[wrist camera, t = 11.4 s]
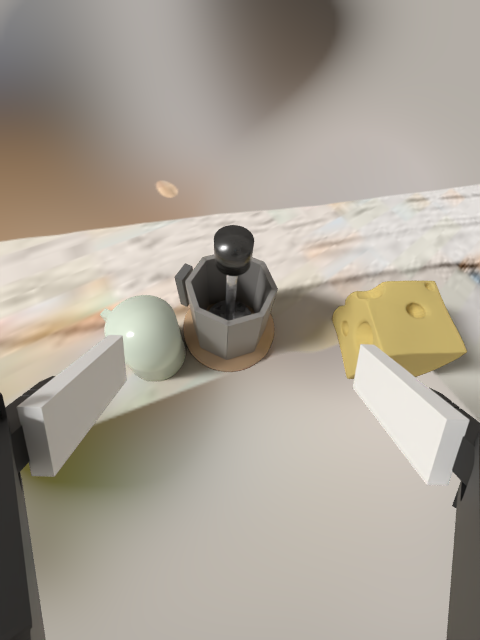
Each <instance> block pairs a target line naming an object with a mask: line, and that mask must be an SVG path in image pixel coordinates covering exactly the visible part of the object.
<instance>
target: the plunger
mask: <svg viewBox="0 0 480 640" xmlns="http://www.w3.org/2000/svg"><path fill="white" fill-rule="evenodd" d="M253 246H254V237H253V235H252V234H251V232H250V231H249V230H247V229H246V228H244V227H241V226H236V225H230V226H225V227H223V228H221V229H219V230H218V231H217V232H216V234H215V236H214V256H215V266H216V268H217V269H218V270H219V271H220V272H221V273H223V274H225V275H226V300H224V301H220V302H218V303H216V304H215V305H213V306H212V307H211V308H210V310H209V311H208V312H210V313H212V314H215V315H217V316H219V317H221V318H223V319H226V320H228V321H230V320H233V319H237V318H240V317H244V316H248V315H251V312H250V310H249V309H248V308H247V307H246V306H245V305H244V304H242V303H240V302H238V301H236V291H237V279H238V276H239V275H242V274H244V273H246V272H247V271H248V270H249V268H250V266H251V260H252V253H253Z"/></svg>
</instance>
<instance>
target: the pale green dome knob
mask: <svg viewBox="0 0 480 640" xmlns="http://www.w3.org/2000/svg"><path fill="white" fill-rule="evenodd" d="M100 315H101V317H102V318H103V319H104V320H105V322H106V323H105V337H107V336H108V335H123V344H124V356H125V363H126V364H127V366H128V367H129V368H130V369H131V370H132V371H133V372H134V373H135V374H136V375H137V376H138V377H139V378H141V379H143V380H146V381H152V382H156V381H162V380H165V379H168V378H170V377H171V376H173V375H174V374H175V373H176V372H177V371H178V370H179V369H180V368H181V366H182V364H183V362H184V360H185V346H184V343H183V339H182V336H181V332H180V329H179V326H178V322H177V319H176V316H175V313H174V311H173V309H172V307H171V306H170V305H169V304H168V303H167V302H166V301H164V300H162V299H161V298H158V297H155V296H150V295H141V296H135V297H132V298H129V299H127V300H125V301H123V302H121V303H120V304H118V305H117V306H116V307H115V308H114V309H113V310H112V311H110V310H108V309H106V308H105V309H104V311H103V312H102V313H101V314H100Z"/></svg>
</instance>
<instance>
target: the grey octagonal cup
mask: <svg viewBox="0 0 480 640" xmlns="http://www.w3.org/2000/svg"><path fill="white" fill-rule="evenodd" d="M175 281H176V285H177V289H178V294H179V298H180V302H181V304H182V305H184V306H187V307H188V305H189V304H190V308H189V310H188V312H187V314H186V316H185V320H184V326H183V330H184V337H185V341H186V344H187V347H188V349H189V350H190V352H191V353H192V355H193V356H194V357H195V358H196V359H197V360H198V361H199V362H200V363H202V364H203V365H205V366H207V367H209V368H211V369H214V370H218V371H223V372H235V371H241V370H244V369H247V368H250V367H251V366H253V365H255V364H256V363H258V362H259V361H260V360H261V359H262V358H263V357H264V356H265V355H266V353H267V352H268V350H269V348H270V346H271V343H272V341H273V337H274V322H273V318H272V315H271V313H270V312H271V309H272V306H273V302H274V299H275V296H276V293H277V289H278V288H277V286H276V284H275V282H274V280H273V278H272V276H271V274H270V272H269V270H268V268H267V266H266V264H265V263H264V262H263V261H260V260H258V259H256V258H253V257H252V260H251V266H250V268H249V270H248V271H247V272H246V273H244V274H242V275H239V276H238V279H237V291H236V301H238V302H240V303H242V304H244V305H245V306H246V307H247V308H248V309H249V310H250V312H251V315H248V316H244V317H240V318H237V319H233V320H230V321H228V320H226V319H223V318H221V317H219V316H217V315H215V314H212V313H210V312H208V311H209V310H210V308H211V307H212V306H213V305H215V304H216V303H218V302H220V301H224V300H226V275H225V274H223V273H221V272H220V271H219V270H218V269H217V268H216V266H215V256H214V255H210V256H205V257H202V259H201V260H200V261H199V263H198V264H197V266H196V267H195V268H194V270H193V268H192V266H190V265H188V264H184V266H183V267H182V268H181V269H180V271H179V272H178V273H177V275H176V276H175Z"/></svg>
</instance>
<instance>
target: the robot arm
mask: <svg viewBox="0 0 480 640" xmlns="http://www.w3.org/2000/svg"><path fill="white" fill-rule="evenodd" d="M126 381H127V380H126V368H125V356H124V344H123V335H108V336H107V337H105V338H104V339H103V340H101V341H100V342H99V343H98V344H96V345H95V346H94V347H92V348H91V349H90V350H89V351H87V352H86V353H85V354H84V355H82V356H81V357H80V358H78V359H77V360H76V361H75V362H73V363H72V364H71V365H69V366H68V367H67V368H66V369H64V370H63V371H62V372H60V373H59V374H58V375H57V376H52V377H49V378H47V379H45V380H43V381H41V382H39V383H38V384H36V385H35V386H34V387H32V388H31V389H30V390H28V391H27V392H25V393H24V394H23V395H22V396H20V397H19V398H17V399H16V400H15V401H13V402H12V403H11V404H9V405H8V406H7V407H5V405H4V401H3V396H2V394H1V393H0V640H45V633H44V626H43V619H42V613H41V606H40V599H39V592H38V586H37V579H36V572H35V565H34V559H33V552H32V546H31V539H30V532H29V526H28V518H27V512H26V505H25V498H24V491H23V485H22V479H21V474H20V471H21V470H22V469H23V468H24V467H25V466H26V464H27V463H28V462H29V465H30V470H31V475H32V476H55V475H56V473H57V472H58V471H59V470H60V468H61V467H62V466H63V464H64V463H65V462H66V460H67V459H68V458H69V456H70V455H71V454H72V452H73V451H74V450H75V448H76V447H77V446H78V444H79V443H80V442H81V440H82V439H83V438H84V436H85V435H86V434H87V432H88V431H89V429H90V428H91V427H92V426H93V424H94V423H95V422H96V420H97V419H98V418H99V416H100V415H101V414H102V412H103V411H104V410H105V409H106V407H107V406H108V405H109V403H110V402H111V401H112V399H113V398H114V397H115V395H116V394H117V393H118V391H119V390H120V389H121V387H122V386H123V385H124V383H125V382H126ZM353 389H354V390H355V391H356V393H357V394H358V396H359V397H360V398H361V400H362V401H363V402H364V403H365V405H366V406H367V407H368V409H369V410H370V411H371V413H372V414H373V415H374V417H375V418H376V419H377V420H378V422H379V423H380V424H381V426H382V427H383V428H384V430H385V431H386V432H387V433H388V435H389V436H390V437H391V439H392V440H393V441H394V443H395V444H396V445H397V447H398V448H399V449H400V451H401V452H402V453H403V454H404V456H405V457H406V458H407V460H408V461H409V462H410V464H411V465H412V466H413V467H414V469H415V470H416V471H417V473H418V474H419V475H420V477H421V478H422V479H423V481H424V482H425V483H426V484H427V485H446V486H447V485H448V484H449V481H450V478H451V475H452V472H454V473H455V474H456V475H457V477H458V478H459V479H460V480H461V482H460V485H459V488H458V491H457V494H456V497H455V500H454V502H453V505H452V506H453V507H455V508H457V510H456V523H455V536H454V550H453V563H452V576H451V588H450V602H449V615H448V629H447V640H480V423H479V422H478V421H477V420H475V419H474V418H473V417H471V416H470V415H469V414H467V413H466V412H465V411H463V410H462V409H459V407H458V406H457V405H456V404H454V403H452V402H451V400H449V399H448V398H447V397H445V396H444V395H443V394H441V393H439V392H437V391H435V390H433V389H431V388H428V387H427V386H426V385H424V384H423V383H422V382H421V381H420V380H418V379H417V378H416V377H414V376H413V375H412V374H411V373H409V372H408V371H407V370H406V369H404V368H403V367H402V366H401V365H399V364H398V363H397V362H395V361H394V360H393V359H392V358H390V357H389V356H388V355H387V354H385V353H384V352H383V351H382V350H380V349H379V348H378V347H376V346H375V345H370V344H361V345H360V350H359V356H358V361H357V367H356V372H355V378H354V383H353Z"/></svg>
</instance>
